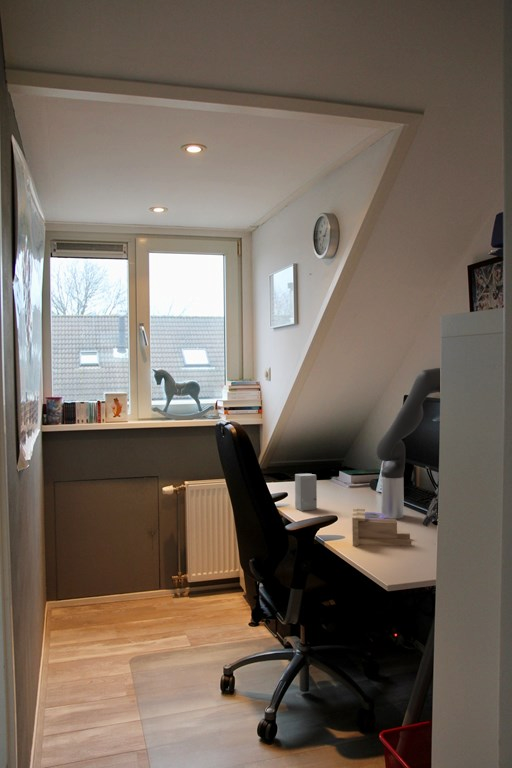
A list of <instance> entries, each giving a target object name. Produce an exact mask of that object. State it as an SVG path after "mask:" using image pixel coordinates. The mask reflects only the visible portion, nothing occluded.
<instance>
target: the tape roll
mask: <svg viewBox="0 0 512 768" xmlns="http://www.w3.org/2000/svg"><path fill="white" fill-rule="evenodd" d="M365 519H387V518H386V515H384V514H382V512H375V511H365Z"/></svg>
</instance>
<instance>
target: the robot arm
mask: <svg viewBox="0 0 512 768" xmlns="http://www.w3.org/2000/svg"><path fill="white" fill-rule="evenodd" d="M440 368H441V367H434V368H428V369H424V370H422V371H420V372H418V374H417V375H416V377H415V380H414V381H413V384H412V386H411V389H410V392H409V394H408V396H407V398H406V399H405V401H404V402H403V404H402V406H401V408H400V410H399V411H398V413H397V415H396V417H395V419H394V420H393V422H392V423H391V424H390V427H389V428H388V429H387V431H386V432H385V434H384V435H383V436H382V438H381V439H380V440H379V441H378V444H377V446H376V456H377V458H378V460H381V461H383V462H390V463H389V464H388V465H387V466H386V467H384V468H383V469H381V472H380V474H381V475H380V476H381V479H380V482H381V484H380V485H381V514H384V515H386V519H396V520H399V519H402V518H404V516H405V514H404V511H405V510H404V509H405V507H404V506H405V505H404V503H405V502H404V500H405V499H404V496H405V495H404V494H405V493H404V491H405V490H404V473H405V468H406V445H405V442H404V441H403V439H404V438H406V437H407V436H409V435H411V434H412V433H413V432H414V431H415V430H417V428H418V426H419V424H420V423H421V421H422V420H423V417H424V407H423V403H424V402H425V400H426V399H427V397H428V396H429V395H431V394H434V393H435V394H436V393H439V394H440ZM434 492H435V495H436V497H433V498H432V500H431V502H430V504H429V506H428V509H427V512H426V515H425V517H424V518H423V520H422V521H421V524H422V525H423V526H425V527H429V525H430V524H431V522H432V521H433V520H434V521H436V520H437V519H438V518H437V503H438V487H437V488H436V489H435V491H434Z"/></svg>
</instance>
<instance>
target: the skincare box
mask: <svg viewBox="0 0 512 768" xmlns="http://www.w3.org/2000/svg"><path fill="white" fill-rule="evenodd" d="M317 482H318V481H317V474H312V473H295V474H294V495H295V496H294V498H295V500H294V501H295V502H294V503H295V505H294V508H295V509H296V510H299V511H301V512H303V511H306V512H307V511H312V510H318V507H317V505H318V503H317V502H318V501H317V499H318V498H317V496H318V495H317V493H318V492H317V488H318V487H317Z"/></svg>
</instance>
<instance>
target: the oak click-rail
mask: <svg viewBox="0 0 512 768" xmlns="http://www.w3.org/2000/svg"><path fill="white" fill-rule="evenodd" d="M365 512H366V509H365V508H353V509H352V519H351V520H352V521H351V522H352V523H351V525H352V528H351V529H352V547H359V545H370V546H371V545H373V546H374V545H375V546H376V545H378V546H400V545H408V546H407V547H412V539H411V534H410V533H408V532H407V533H406V532H404V533H403V532H397V539H376V538H358V521H365Z"/></svg>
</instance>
